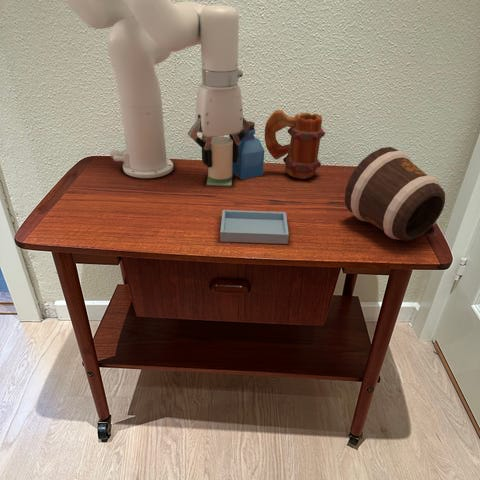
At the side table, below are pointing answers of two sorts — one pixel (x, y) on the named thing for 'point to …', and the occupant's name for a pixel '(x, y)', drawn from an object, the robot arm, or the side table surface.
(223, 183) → the mat
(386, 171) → the brown wooden barrel
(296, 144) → the mug
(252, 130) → the perfume bottle
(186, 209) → the side table surface
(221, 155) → the cream upright cylinder
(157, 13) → the robot arm
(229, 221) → the tray
